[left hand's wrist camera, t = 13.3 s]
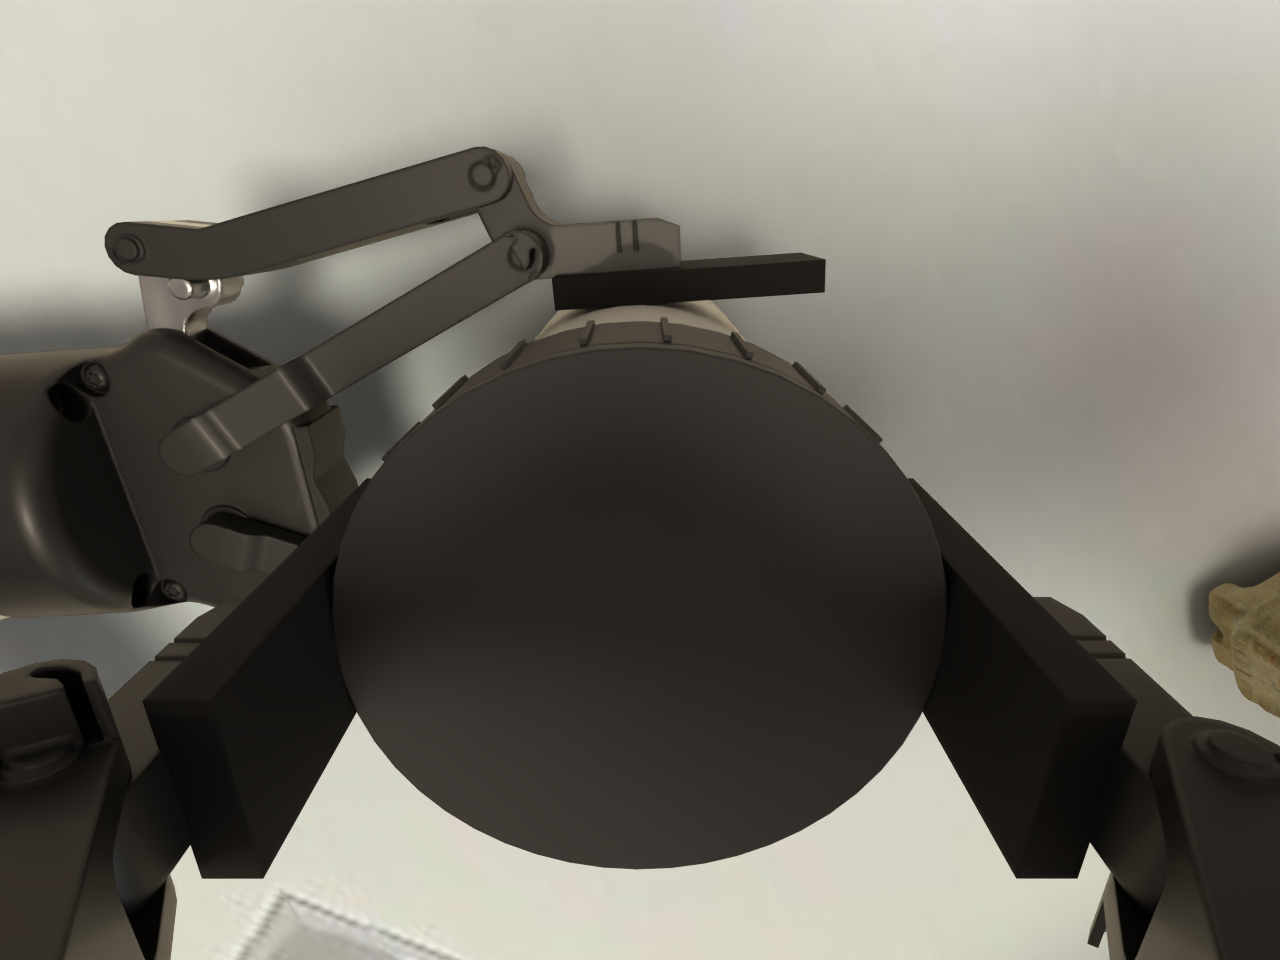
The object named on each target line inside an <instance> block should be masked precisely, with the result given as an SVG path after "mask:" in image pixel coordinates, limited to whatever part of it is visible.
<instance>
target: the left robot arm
mask: <svg viewBox="0 0 1280 960" xmlns="http://www.w3.org/2000/svg"><path fill="white" fill-rule="evenodd" d="M371 479H372V478H367V479H366V480H365V481H364V482H363V483H362V484H361V485H360V486H359V487H358V488H357V489H356V490H355V491H354V492H353V493H352V494H351V495H350V496H349V497H348V498H347V499H346V500H344V501H343V502H342V503H341V504H340V505H339V506H338V507H337V508H336V509H335V510H334V511H333V512H332V513H331V514H330V515H329V516H328V517H327V518H326V519H325V520H324V521H323V522H322V523H321V524H320V525H319V526H318V527H317V528H316V529H315V530H314V531H313V532H312V533H311V534H310V535H309V536H308V537H307V538H306V539H305V540H304V541H303V542H302V543H301V544H300V545H299V546H298V547H297V548H296V549H295V550H294V551H293V552H292V553H291V554H290V555H289V556H288V557H287V558H286V559H285V560H284V561H283V562H282V563H281V564H280V565H279V566H278V567H277V568H276V569H275V570H274V571H273V572H272V573H271V574H270V575H269V576H268V577H267V578H266V579H265V580H264V581H263V582H262V583H261V584H260V585H259V586H258V587H257V588H256V589H255V590H254V591H253V592H252V593H250V594H249V595H248V596H247V597H246V598H245V599H230V600H228V601H226V602H224V603H222V604H221V605H219V606H217V607H215V608H214V609H212V610H210V611H208V612H206V613H205V614H203V615H201V616H199V617H197V618H196V619H195V620H194V621H193V622H192V623H191V624H190V625H189V626H188V627H186V628H185V629H184V630H183V631H182V632H181V633H180V634H179V635H178V636H177V637H176V638H175V639H174V643H169V644H168V645H167V646H166V647H165V648H164V649H163V650H162V651H160V652H159V653H158V654H157V655H156V656H155V661H150V662H149V663H148V664H146V665H145V666H144V667H143V668H142V669H141V670H140V671H139V672H138V673H137V674H136V675H135V676H133V677H132V678H131V679H130V680H129V681H128V682H127V683H126V684H125V685H124V686H123V687H122V688H120V689H119V690H118V691H117V692H116V693H115V694H114V695H113V696H112V697H111V698H110V699H109V700H107V698H106V695H105V693H104V690H103V687H102V684H101V681H100V679H99V676H98V673H97V670H96V668H95V667H94V666H92V665H90V664H88V663H87V662H85V661H80V660H66V659H61V660H55V661H48V662H41V663H35V664H32V665H29V666H25V667H22V668H19V669H15V670H12V671H9V672H6V673H3V674H1V675H0V960H170V958H171V949H172V941H173V932H174V923H175V914H176V905H177V898H176V893H175V887H174V884H173V881H172V878H171V876H170V873H171V871H172V870H173V869H174V867H175V866H176V864H177V863H178V862H179V860H180V859H181V857H182V856H183V854H184V853H185V852H186V850H187V849H188V847H189V846H190V845H191V847H192V850H193V853H194V856H195V859H196V862H197V865H198V868H199V871H200V874H201V877H202V879H263V878H264V876H265V874H266V873H267V871H268V869H269V867H270V866H271V864H272V862H273V860H274V858H275V857H276V855H277V853H278V851H279V850H280V848H281V846H282V844H283V842H284V841H285V839H286V837H287V835H288V833H289V832H290V830H291V828H292V826H293V825H294V823H295V821H296V819H297V817H298V816H299V814H300V812H301V810H302V809H303V807H304V805H305V803H306V801H307V800H308V798H309V796H310V794H311V793H312V791H313V789H314V787H315V785H316V784H317V782H318V780H319V778H320V777H321V775H322V773H323V771H324V769H325V768H326V766H327V764H328V762H329V760H330V759H331V757H332V755H333V753H334V752H335V750H336V748H337V746H338V744H339V743H340V741H341V739H342V737H343V736H344V734H345V732H346V730H347V728H348V727H349V725H350V723H351V721H352V720H353V718H354V716H355V714H356V712H357V711H356V709H355V706H354V704H353V702H352V699H351V697H350V695H349V692H348V690H347V688H346V685H345V683H344V680H343V676H342V672H341V667H340V663H339V658H338V653H337V649H336V643H335V637H334V632H333V623H332V596H333V578H334V574H335V569H336V564H337V559H338V554H339V550H340V545H341V542H342V539H343V537H344V534H345V532H346V529H347V526H348V524H349V521H350V519H351V516H352V513H353V511H354V509H355V507H356V505H357V503H358V502H359V500H360V498H361V496H362V495H363V493H364V491H365V490H366V488H367V486H368V484H369V483H370V481H371ZM907 479H908V480H909V482H910V483H911V485H912V487H913V489H914V491H915V492H916V493H917V494H918V495H919V497H920V502H921V504H922V505H923V507H924V509H925V511H926V513H927V515H928V517H929V520H930V523H931V526H932V528H933V531H934V534H935V537H936V540H937V543H938V545H939V548H940V552H941V558H942V563H943V568H944V574H945V579H946V585H947V627H946V634H945V640H944V645H943V651H942V656H941V660H940V665H939V669H938V673H937V676H936V680H935V683H934V687H933V689H932V691H931V693H930V696H929V698H928V700H927V702H926V704H925V707H924V709H923V713H924V715H925V717H926V719H927V720H928V722H929V724H930V726H931V727H932V729H933V731H934V733H935V735H936V736H937V738H938V740H939V742H940V743H941V745H942V747H943V749H944V751H945V752H946V754H947V756H948V758H949V759H950V761H951V763H952V765H953V767H954V768H955V770H956V772H957V774H958V775H959V777H960V779H961V781H962V783H963V784H964V786H965V788H966V790H967V792H968V793H969V795H970V797H971V799H972V800H973V802H974V804H975V806H976V808H977V809H978V811H979V813H980V815H981V816H982V818H983V820H984V822H985V824H986V825H987V827H988V829H989V831H990V832H991V834H992V836H993V838H994V840H995V841H996V843H997V845H998V847H999V848H1000V850H1001V852H1002V854H1003V856H1004V857H1005V859H1006V861H1007V863H1008V865H1009V866H1010V868H1011V870H1012V872H1013V873H1014V875H1015V877H1016V878H1078V875H1079V873H1080V870H1081V867H1082V864H1083V861H1084V858H1085V855H1086V852H1087V849H1088V846H1089V843H1091V844H1092V846H1093V847H1094V849H1095V850H1096V851H1097V853H1098V854H1099V856H1100V857H1101V858H1102V860H1103V861H1104V863H1105V864H1106V865H1107V867H1108V868H1109V870H1110V871H1111V873H1110V876H1109V878H1108V881H1107V884H1106V887H1105V889H1104V892H1103V895H1102V898H1101V901H1100V903H1099V906H1098V909H1097V912H1096V914H1095V917H1094V920H1093V923H1092V926H1091V928H1090V933H1089V938H1088V943H1087V944H1090V945H1092V946H1095V947H1097V948H1098V947H1099V944H1100V942H1101V939H1102V936H1103V934H1104V932H1106V931H1107V938H1108V947H1109V955H1110V960H1280V746H1278V745H1277V744H1275V743H1273V742H1271V741H1269V740H1267V739H1265V738H1263V737H1261V736H1259V735H1257V734H1255V733H1253V732H1252V731H1250V730H1247V729H1244V728H1241V727H1238V726H1235V725H1232V724H1229V723H1226V722H1223V721H1220V720H1214V719H1208V718H1202V717H1196V716H1194V717H1193V716H1192V715H1191V714H1190V713H1189V712H1188V711H1187V710H1186V709H1185V708H1184V707H1182V706H1181V705H1180V704H1179V703H1178V702H1177V701H1176V700H1175V699H1174V698H1173V697H1172V696H1170V695H1169V694H1168V693H1167V692H1166V691H1165V690H1164V689H1163V688H1162V687H1161V686H1160V685H1158V684H1157V683H1156V682H1155V681H1154V680H1153V679H1152V678H1151V677H1150V676H1149V675H1148V674H1146V673H1145V672H1144V671H1143V670H1142V669H1141V668H1140V667H1139V666H1138V665H1137V664H1136V663H1134V662H1133V661H1132V660H1131V659H1126V657H1125V653H1124V652H1123V651H1121V650H1120V649H1119V648H1118V647H1117V646H1116V645H1115V644H1114V643H1113V642H1112V641H1107V640H1106V636H1105V635H1104V634H1103V633H1102V632H1101V631H1100V630H1099V629H1097V628H1096V627H1095V626H1094V625H1093V624H1092V623H1091V622H1090V621H1089V620H1088V619H1087V618H1085V617H1084V616H1083V615H1082V614H1080V613H1078V612H1076V611H1074V610H1073V609H1071V608H1069V607H1067V606H1065V605H1064V604H1062V603H1060V602H1058V601H1056V600H1055V599H1053V598H1051V597H1032V596H1031V595H1030V594H1029V593H1028V592H1027V591H1026V590H1025V589H1024V588H1023V587H1022V586H1021V585H1020V584H1019V583H1018V582H1017V581H1016V580H1015V579H1014V578H1013V577H1012V576H1011V575H1010V574H1009V573H1008V572H1007V571H1006V570H1005V569H1004V568H1003V567H1002V566H1001V565H1000V564H999V563H998V562H997V561H996V560H995V559H994V558H993V557H992V556H991V555H990V554H989V553H988V552H987V551H986V550H985V549H984V548H983V547H982V546H981V545H980V544H979V543H978V542H976V541H975V540H974V539H973V538H972V537H971V536H970V535H969V534H968V533H967V532H966V531H965V530H964V529H963V528H962V527H961V526H960V525H959V524H958V523H957V522H956V521H955V520H954V519H953V518H952V517H951V516H950V515H949V514H948V513H947V512H946V511H945V510H944V509H943V508H942V507H941V506H940V505H939V504H938V503H937V502H936V501H935V500H934V499H933V498H932V497H931V496H930V495H929V494H928V493H927V492H926V491H925V490H924V489H923V488H922V487H921V486H920V485H919V484H918V483H917V482H916V481H915V480H914V479H913V478H907Z"/></svg>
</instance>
